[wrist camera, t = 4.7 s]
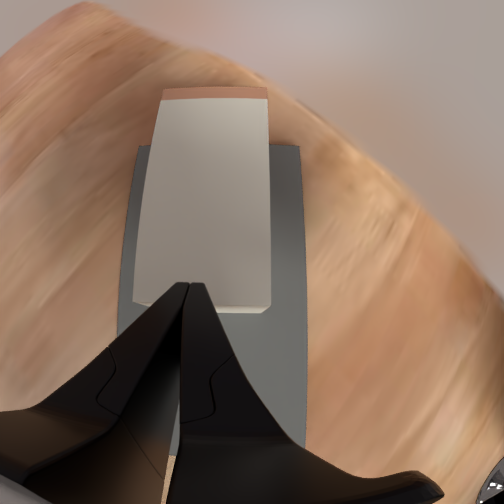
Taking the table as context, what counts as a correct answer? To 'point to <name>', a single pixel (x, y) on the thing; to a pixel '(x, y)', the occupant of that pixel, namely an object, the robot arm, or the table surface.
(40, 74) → the table surface
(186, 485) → the robot arm
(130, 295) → the rubber mat
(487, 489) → the wine glass
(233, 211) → the tall block
